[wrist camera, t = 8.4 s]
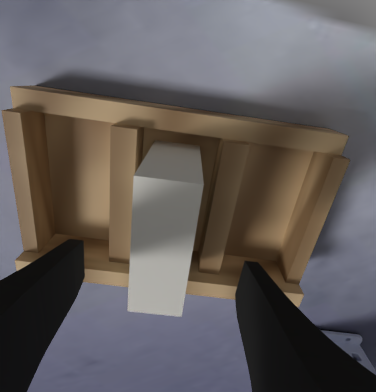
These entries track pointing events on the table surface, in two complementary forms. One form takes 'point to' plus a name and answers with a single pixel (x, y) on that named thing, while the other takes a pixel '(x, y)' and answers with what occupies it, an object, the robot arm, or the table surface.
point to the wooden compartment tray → (211, 196)
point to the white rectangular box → (164, 227)
